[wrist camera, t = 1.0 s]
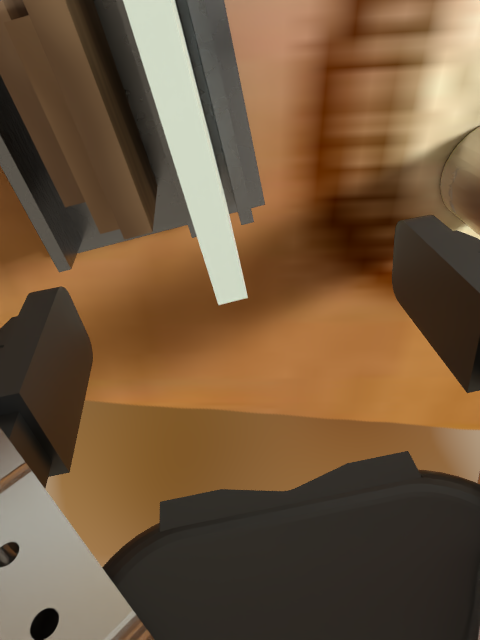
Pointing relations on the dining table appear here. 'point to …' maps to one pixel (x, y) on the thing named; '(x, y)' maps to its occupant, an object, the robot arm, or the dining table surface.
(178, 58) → the tall sheet
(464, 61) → the dining table surface
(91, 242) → the rack
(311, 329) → the dining table surface
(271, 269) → the dining table surface
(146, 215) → the offcut bundle
